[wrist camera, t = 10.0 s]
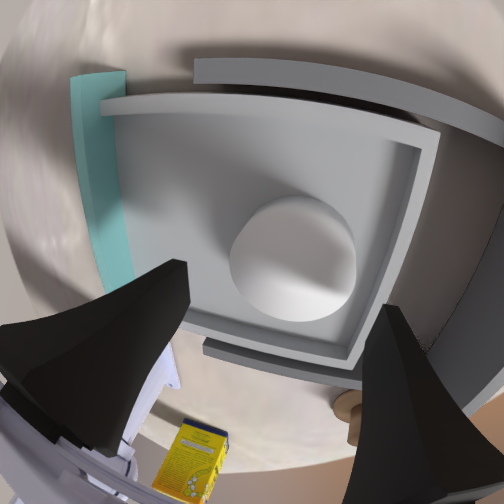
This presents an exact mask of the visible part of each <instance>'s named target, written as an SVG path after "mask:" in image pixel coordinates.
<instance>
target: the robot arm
mask: <svg viewBox="0 0 504 504" xmlns="http://www.w3.org/2000/svg"><path fill="white" fill-rule="evenodd" d="M190 303H191V299H190V289H189V278H188V266H187V262H186V261H182V260H178V259H174V258H173V259H171V260H169V261H167V262H165V263H163V264H161V265H159V266H157V267H156V268H154V269H152V270H150V271H149V272H147V273H145V274H143V275H142V276H140V277H138V278H136V279H134V280H133V281H131V282H129V283H127V284H125V285H123V286H121V287H120V288H118V289H116V290H114V291H112V292H110V293H108V294H106V295H104V296H102V297H100V298H98V299H95V300H93V301H91V302H88V303H86V304H83V305H81V306H78V307H76V308H73V309H70V310H67V311H64V312H61V313H58V314H55V315H51V316H48V317H44V318H40V319H36V320H31V321H26V322H19V323H13V324H6V325H1V326H0V372H1V374H2V375H3V376H4V377H5V378H6V380H7V382H6V384H5V385H4V384H3V383H2V382H1V381H0V473H1V475H2V476H3V478H4V479H5V480H6V481H7V483H8V484H9V486H10V487H11V488H12V489H13V491H14V492H15V494H14V496H13V498H12V499H11V501H10V503H9V504H128V503H127V502H126V500H127V499H128V498H130V499H132V500H134V501H137V502H138V503H141V504H187V503H184V502H181V501H179V500H176V499H174V498H171V497H169V496H166V495H164V494H162V493H159V492H157V491H155V490H153V489H150V488H148V487H146V486H144V485H142V484H140V483H138V482H136V481H137V477H138V467H137V462H136V459H135V458H134V457H133V454H134V452H135V449H133V448H131V447H130V445H131V444H132V442H133V440H134V438H135V436H136V435H137V433H138V431H139V429H140V427H141V426H142V424H143V422H144V420H145V419H146V417H147V415H148V413H149V412H150V410H151V408H152V406H153V404H154V403H155V401H156V399H157V397H158V396H159V394H160V392H161V390H162V389H163V387H164V385H166V386H169V387H171V388H174V389H177V390H179V389H180V387H181V384H180V381H179V377H178V373H177V369H176V365H175V361H174V357H173V352H172V348H171V344H170V340H171V338H172V337H173V335H174V334H175V332H176V331H177V329H178V327H179V326H180V324H181V322H182V320H183V318H184V316H185V314H186V312H187V310H188V307H189V305H190ZM503 487H504V455H503V454H502V453H501V452H500V451H499V450H497V448H495V447H494V446H493V445H492V444H491V443H490V442H489V441H488V440H487V439H486V438H485V437H484V436H483V435H482V434H481V432H480V431H479V430H478V429H477V428H476V427H475V426H474V425H473V424H472V422H471V421H470V420H469V419H468V418H467V416H466V415H465V414H464V413H463V411H462V410H461V409H460V408H459V406H458V405H457V404H456V402H455V401H454V400H453V398H452V397H451V395H450V394H449V392H448V391H447V389H446V388H445V386H444V385H443V384H442V382H441V380H440V379H439V377H438V376H437V374H436V372H435V371H434V369H433V367H432V366H431V364H430V362H429V361H428V359H427V357H426V356H425V354H424V352H423V350H422V348H421V347H420V345H419V343H418V341H417V339H416V337H415V336H414V334H413V332H412V330H411V328H410V326H409V325H408V323H407V321H406V319H405V317H404V315H403V314H402V312H401V310H400V308H399V307H398V306H394V305H388V304H382V307H381V309H380V311H379V313H378V316H377V318H376V320H375V322H374V324H373V326H372V328H371V330H370V332H369V334H368V337H367V339H366V341H365V345H364V354H363V364H362V415H361V428H360V435H359V440H358V446H357V451H356V455H355V460H354V464H353V469H352V472H351V476H350V480H349V483H348V486H347V490H346V493H345V496H344V499H343V502H342V504H475V501H477V500H479V499H482V498H484V497H486V496H488V495H490V494H492V493H494V492H496V491H498V490H500V489H502V488H503Z"/></svg>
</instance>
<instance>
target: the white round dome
mask: <svg viewBox="0 0 504 504" xmlns="http://www.w3.org/2000/svg"><path fill="white" fill-rule="evenodd" d="M229 268H230V273H231V277H232V279H233V282H234V284H235V286H236V288H237V289H238V291H239V292H240V294H241V295H242V296H243V297H244V298H245V299H246V300H247V301H248V302H249V303H250V304H251V305H252V306H254V307H255V308H256V309H258V310H260V311H261V312H263V313H265V314H267V315H269V316H272V317H275V318H278V319H282V320H287V321H295V322H305V321H313V320H317V319H320V318H323V317H326V316H328V315H330V314H332V313H334V312H335V311H337V310H338V309H339V308H340V307H341V306H343V305H344V303H345V302H346V301H347V300H348V298H349V297H350V295H351V293H352V291H353V289H354V286H355V282H356V252H355V240H354V236H353V233H352V231H351V228H350V226H349V225H348V223H347V221H346V220H345V219H344V218H343V216H342V215H341V214H340V213H339V212H338V211H337V210H335V209H334V208H333V207H331V206H330V205H328V204H326V203H324V202H323V201H320V200H318V199H315V198H311V197H307V196H300V195H290V196H283V197H279V198H275V199H273V200H271V201H268V202H267V203H265V204H263V205H262V206H261V207H259V208H258V209H257V210H256V211H255V212H254V213H253V214H252V216H251V217H250V219H249V220H248V222H247V223H246V225H245V226H244V228H243V229H242V231H241V232H240V233H239V235H238V236H237V238H236V240H235V241H234V243H233V245H232V248H231V252H230V257H229Z"/></svg>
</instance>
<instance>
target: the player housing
mask: <svg viewBox="0 0 504 504" xmlns="http://www.w3.org/2000/svg"><path fill="white" fill-rule="evenodd" d="M193 84H246V85H262V86H275V87H285V88H294V89H303V90H310V91H317V92H324V93H330V94H336V95H341V96H347V97H352V98H357V99H361V100H366V101H370V102H375V103H379V104H383V105H387V106H391V107H395V108H398V109H402V110H405V111H409V112H412V113H416V114H419V115H422V116H425V117H428V118H431V119H434V120H437V121H440V122H443V123H446V124H449V125H451V126H454V127H457V128H459V129H462V130H464V131H467V132H469V133H472V134H474V135H477V136H479V137H481V138H484V139H486V140H488V141H490V142H493V143H495V144H497V145H499V146H501V147H503V148H504V120H502V119H500V118H498V117H496V116H494V115H492V114H489V113H487V112H485V111H483V110H481V109H479V108H476V107H474V106H472V105H470V104H467V103H465V102H462V101H460V100H457V99H455V98H452V97H450V96H447V95H444V94H442V93H439V92H436V91H433V90H430V89H427V88H424V87H421V86H418V85H415V84H411V83H408V82H405V81H401V80H397V79H394V78H390V77H386V76H382V75H378V74H374V73H369V72H365V71H360V70H355V69H350V68H344V67H339V66H332V65H326V64H319V63H311V62H303V61H293V60H282V59H266V58H199V59H194V74H193ZM203 354H204V355H207V356H210V357H213V358H217V359H220V360H224V361H227V362H231V363H234V364H238V365H241V366H245V367H249V368H253V369H257V370H261V371H265V372H269V373H273V374H277V375H281V376H286V377H290V378H295V379H300V380H304V381H309V382H315V383H320V384H325V385H331V386H336V387H342V388H349V389H355V390H362V364H363V354H364V350H363V352H362V353H361V355H360V357H359V359H358V361H357V363H356V364H355V366H354V368H353V370H347V369H342V368H336V367H331V366H325V365H320V364H315V363H310V362H305V361H301V360H296V359H291V358H287V357H282V356H278V355H274V354H270V353H265V352H261V351H257V350H253V349H250V348H246V347H242V346H238V345H234V344H231V343H227V342H224V341H220V340H217V339H213V338H210V337H206V339H205V341H204V343H203ZM425 356H426V357H427V359H428V361H429V362H430V364H431V366H432V367H433V369H434V371H435V372H436V374H437V376H438V377H439V379H440V380H441V382H442V384H443V385H444V386H445V388H446V389H447V391H448V392H449V394H450V395H451V397H452V398H453V400H454V401H455V402H456V404H457V405H458V406H459V408H460V409H461V410H462V411H463V413H464V414H465V415H466V416H467V418H469V417H470V416H471V415H473V414H474V413H475V412H476V411H477V410H478V409H479V408H480V407H482V406H483V405H484V404H485V403H486V402H487V401H488V400H489V399H490V398H491V397H492V396H493V395H494V394H495V393H496V392H497V391H498V390H499V389H500V388H501V387H502V386H503V385H504V204H503V206H502V209H501V212H500V215H499V218H498V220H497V223H496V226H495V228H494V231H493V233H492V236H491V238H490V241H489V243H488V245H487V248H486V250H485V252H484V254H483V256H482V259H481V261H480V263H479V265H478V267H477V269H476V271H475V273H474V275H473V277H472V279H471V281H470V283H469V285H468V287H467V289H466V291H465V293H464V294H463V296H462V298H461V300H460V302H459V303H458V305H457V307H456V309H455V310H454V312H453V314H452V315H451V317H450V319H449V320H448V322H447V324H446V325H445V327H444V328H443V330H442V331H441V333H440V335H439V336H438V338H437V339H436V341H435V342H434V344H433V345H432V346H431V348H430V349H429V351H428V352H427V354H426V355H425Z"/></svg>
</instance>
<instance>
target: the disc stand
mask: <svg viewBox="0 0 504 504" xmlns="http://www.w3.org/2000/svg"><path fill="white" fill-rule="evenodd" d="M333 412H334V415H335V416H336V417H337V418H338V419H340V420H342V421H344V422H347V423H350V424H349V433H348V440H347V442H348V443H349V444H350V445H352V446H356V447H357V446H358V440H359V435H360V428H361V415H362V390H355V389H352V390H349V391H347V392H345V393H343V394H341V395H340V396H339V397H337V399H336V400H335V402H334V409H333Z"/></svg>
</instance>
